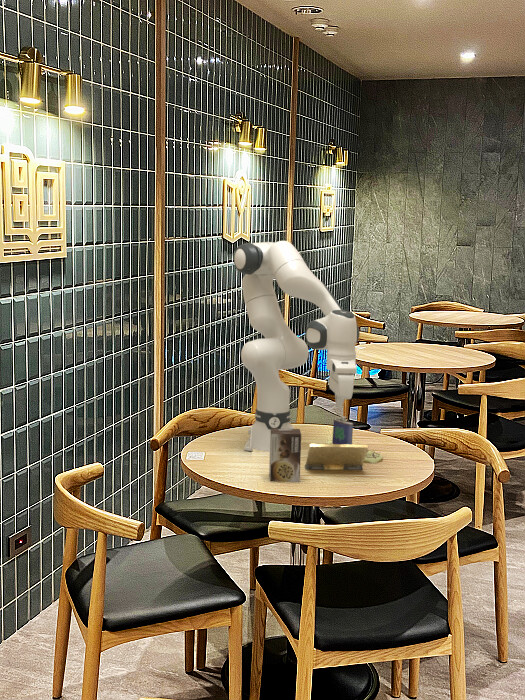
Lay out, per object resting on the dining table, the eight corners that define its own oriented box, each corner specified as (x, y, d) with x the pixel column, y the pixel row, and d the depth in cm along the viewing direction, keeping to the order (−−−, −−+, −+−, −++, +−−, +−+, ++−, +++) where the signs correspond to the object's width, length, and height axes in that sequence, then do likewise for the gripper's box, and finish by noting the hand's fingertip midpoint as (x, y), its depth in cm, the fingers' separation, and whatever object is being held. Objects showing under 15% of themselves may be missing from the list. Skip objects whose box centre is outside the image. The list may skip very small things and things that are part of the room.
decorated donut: (378, 469, 269) (379, 458, 268) (346, 465, 272) (346, 454, 272) (384, 461, 278) (385, 450, 278) (353, 457, 282) (354, 446, 281)
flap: (305, 473, 261) (304, 467, 263) (361, 474, 263) (360, 467, 265) (310, 450, 252) (309, 443, 254) (368, 451, 254) (367, 444, 255)
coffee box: (298, 480, 253) (300, 428, 250) (299, 486, 246) (302, 433, 244) (268, 479, 252) (270, 427, 250) (269, 486, 246) (271, 432, 244)
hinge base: (304, 471, 263) (304, 463, 262) (360, 471, 264) (361, 464, 264) (310, 483, 250) (310, 475, 250) (369, 483, 252) (369, 475, 251)
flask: (353, 448, 294) (355, 418, 292) (347, 449, 292) (348, 419, 291) (335, 442, 301) (337, 413, 300) (329, 443, 299) (331, 414, 298)
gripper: (325, 358, 264) (323, 401, 266) (336, 368, 244) (334, 414, 246) (344, 359, 265) (343, 401, 266) (357, 368, 244) (355, 415, 246)
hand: (339, 408), depth 256 cm, fingers closed
